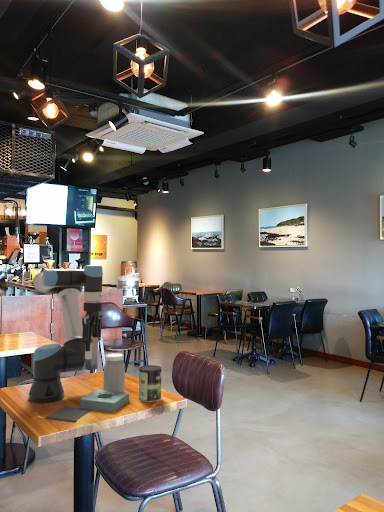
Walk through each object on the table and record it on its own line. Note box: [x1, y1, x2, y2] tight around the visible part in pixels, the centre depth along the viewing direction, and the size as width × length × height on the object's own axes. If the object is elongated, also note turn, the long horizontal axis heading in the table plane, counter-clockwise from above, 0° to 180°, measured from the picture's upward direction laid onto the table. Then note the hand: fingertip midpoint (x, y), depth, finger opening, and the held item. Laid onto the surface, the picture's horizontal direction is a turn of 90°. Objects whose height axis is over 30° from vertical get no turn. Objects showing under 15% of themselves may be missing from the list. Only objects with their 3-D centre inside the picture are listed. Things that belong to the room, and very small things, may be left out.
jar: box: [102, 352, 126, 393], centre depth 190 cm, size 10×10×18 cm
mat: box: [45, 405, 94, 423], centre depth 162 cm, size 13×13×1 cm
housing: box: [79, 389, 130, 413], centre depth 174 cm, size 16×14×4 cm
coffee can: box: [138, 364, 163, 403], centre depth 183 cm, size 10×10×14 cm
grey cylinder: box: [85, 336, 99, 371], centre depth 170 cm, size 5×5×13 cm
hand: (91, 357), depth 170 cm, fingers closed on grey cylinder, 5 cm apart
